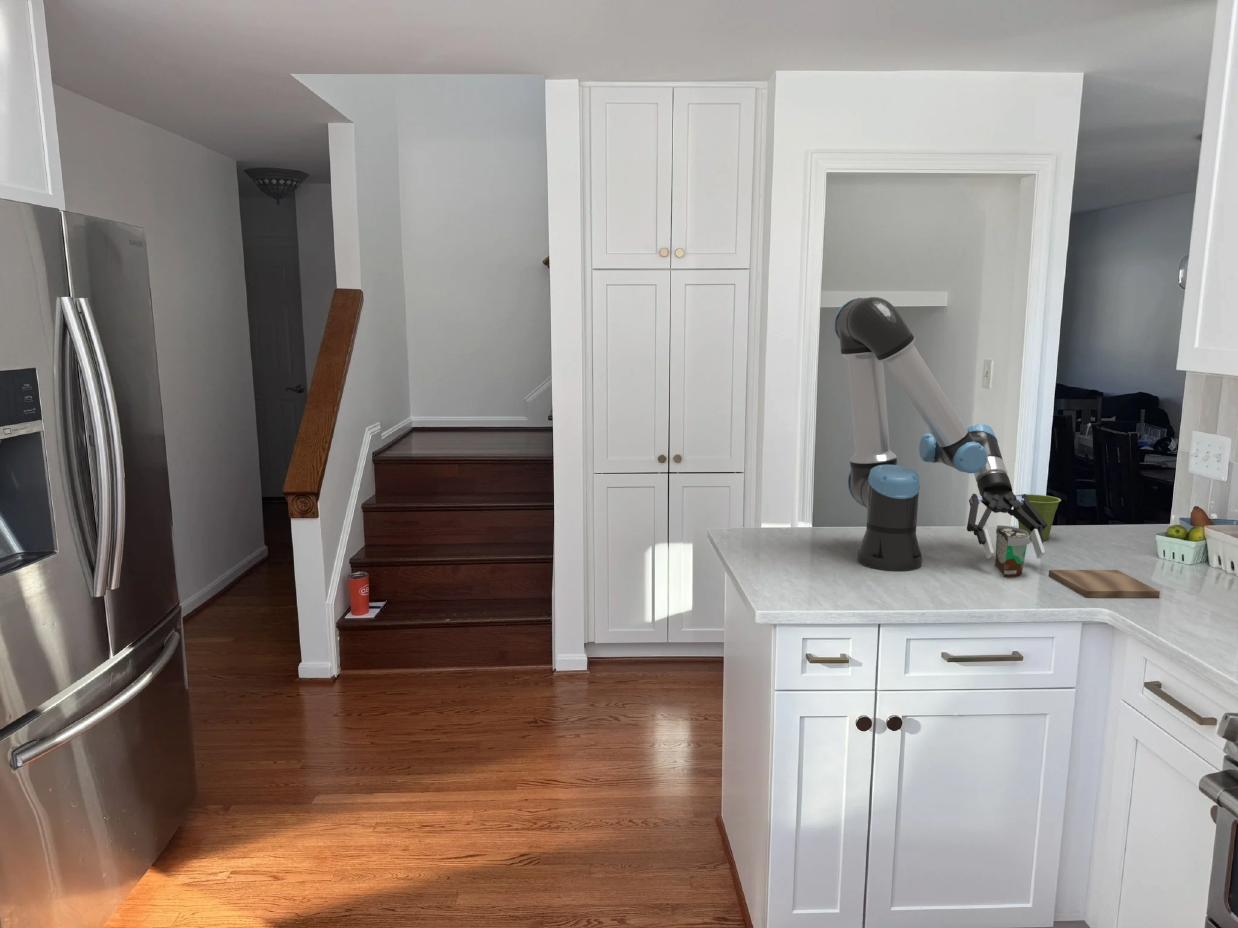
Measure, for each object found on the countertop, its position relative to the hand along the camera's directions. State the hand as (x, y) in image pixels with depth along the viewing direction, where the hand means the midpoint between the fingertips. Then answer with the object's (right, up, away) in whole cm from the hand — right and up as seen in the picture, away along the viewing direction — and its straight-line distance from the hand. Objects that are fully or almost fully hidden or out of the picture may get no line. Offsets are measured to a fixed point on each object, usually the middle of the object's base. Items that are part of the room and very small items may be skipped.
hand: (1015, 555), depth 203 cm
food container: (0, -4, +1) cm, 5 cm away
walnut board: (+15, -6, -9) cm, 19 cm away
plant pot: (+21, +1, +34) cm, 40 cm away
